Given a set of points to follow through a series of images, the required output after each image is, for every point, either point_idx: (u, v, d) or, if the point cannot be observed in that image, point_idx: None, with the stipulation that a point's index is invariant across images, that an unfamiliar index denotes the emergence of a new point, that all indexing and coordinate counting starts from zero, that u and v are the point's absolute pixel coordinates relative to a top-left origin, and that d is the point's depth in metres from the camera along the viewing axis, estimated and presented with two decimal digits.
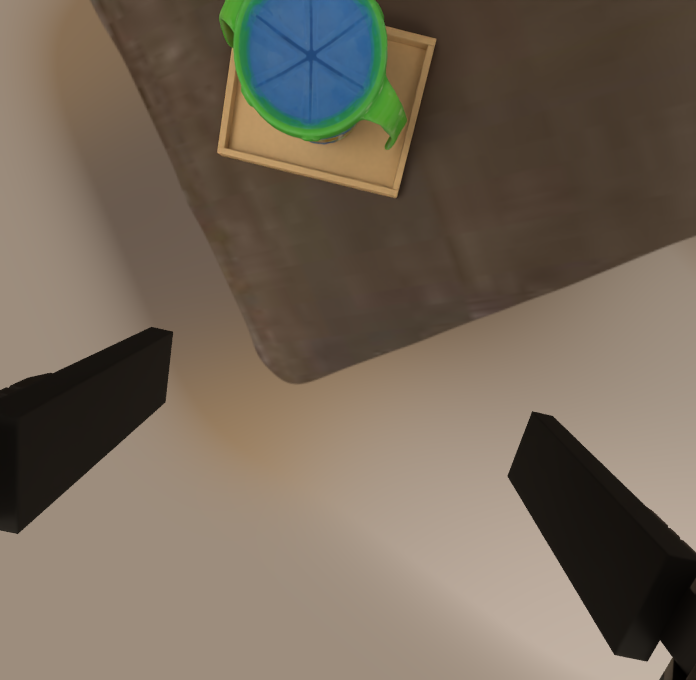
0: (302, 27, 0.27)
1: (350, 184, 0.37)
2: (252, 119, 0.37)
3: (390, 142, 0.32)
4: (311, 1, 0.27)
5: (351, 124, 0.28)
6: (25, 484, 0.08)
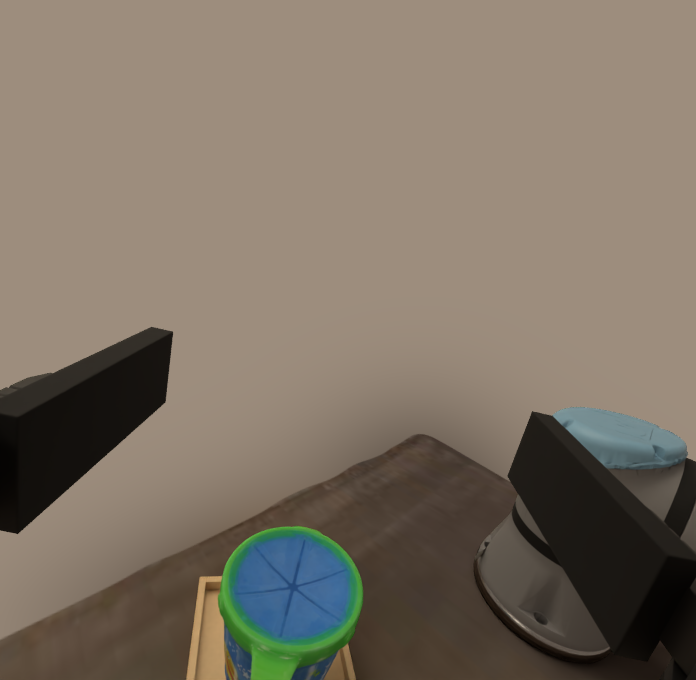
0: (310, 575, 0.31)
1: None
2: None
3: None
4: (331, 576, 0.31)
5: (242, 637, 0.25)
6: (25, 484, 0.08)
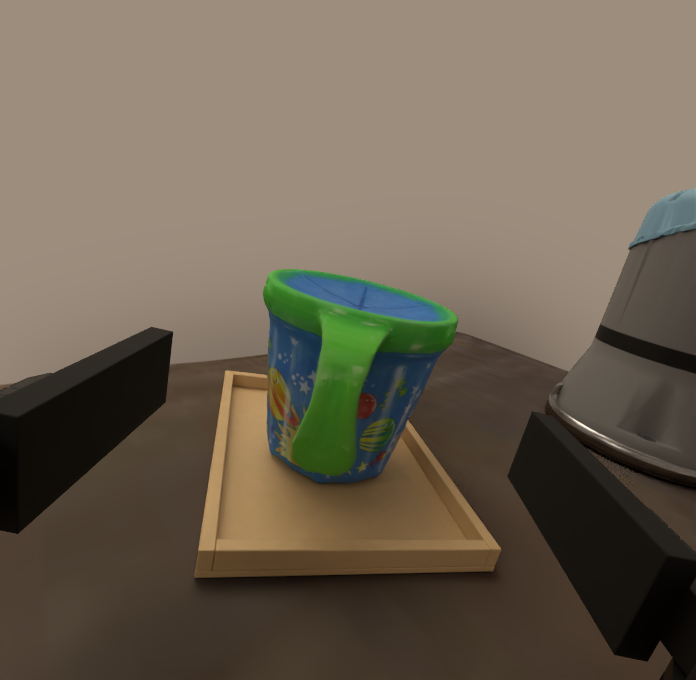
0: (381, 305, 0.23)
1: (211, 474, 0.19)
2: None
3: None
4: (407, 308, 0.23)
5: (305, 306, 0.18)
6: (25, 484, 0.08)
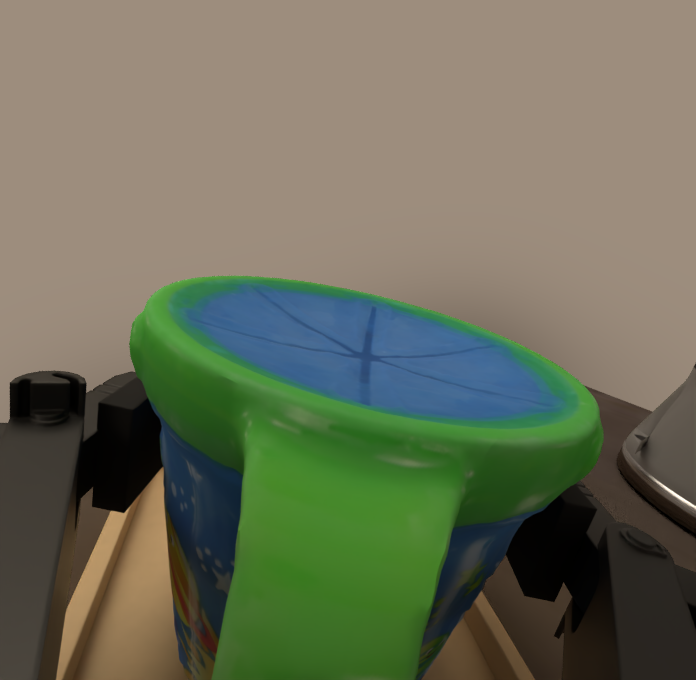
0: (406, 348, 0.12)
1: None
2: None
3: None
4: (459, 353, 0.12)
5: (206, 394, 0.06)
6: (131, 469, 0.09)
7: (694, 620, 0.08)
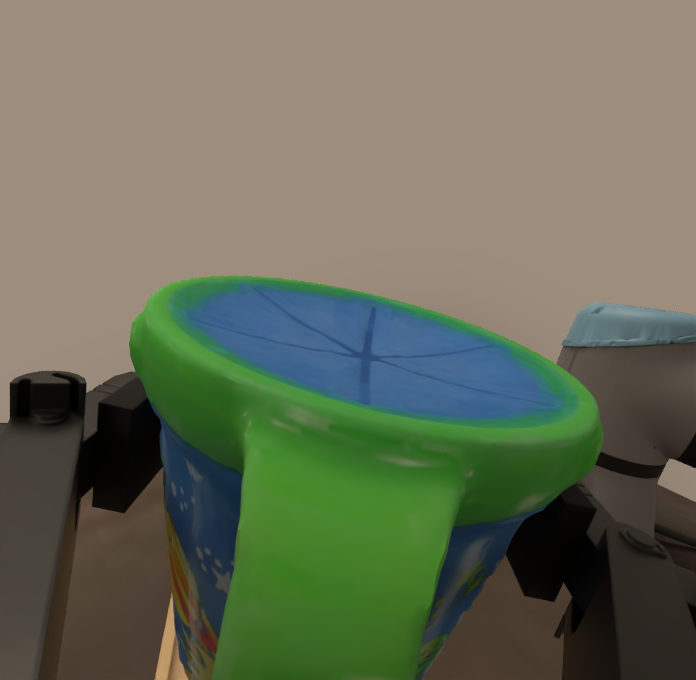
0: (406, 348, 0.12)
1: (170, 608, 0.23)
2: None
3: None
4: (459, 353, 0.12)
5: (205, 394, 0.06)
6: (132, 469, 0.09)
7: (694, 620, 0.08)
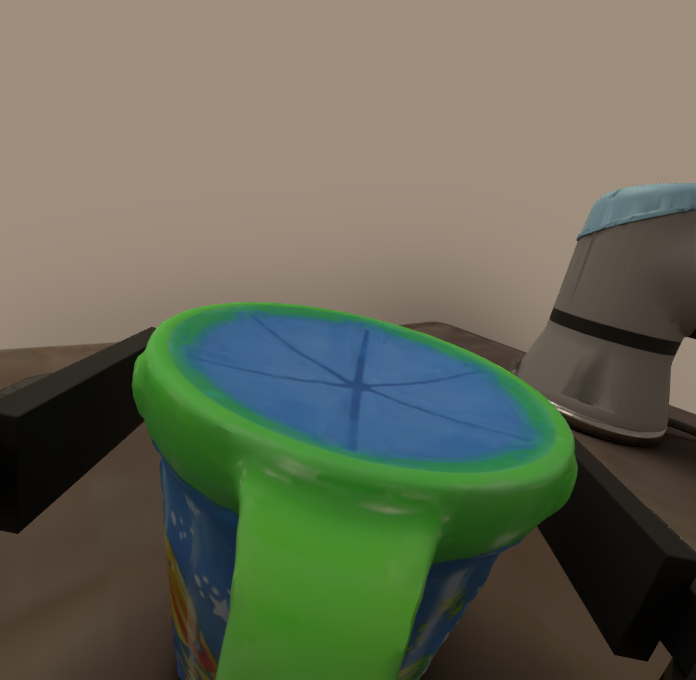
0: (397, 375, 0.12)
1: None
2: None
3: None
4: (447, 379, 0.12)
5: (204, 441, 0.06)
6: (25, 484, 0.08)
7: None
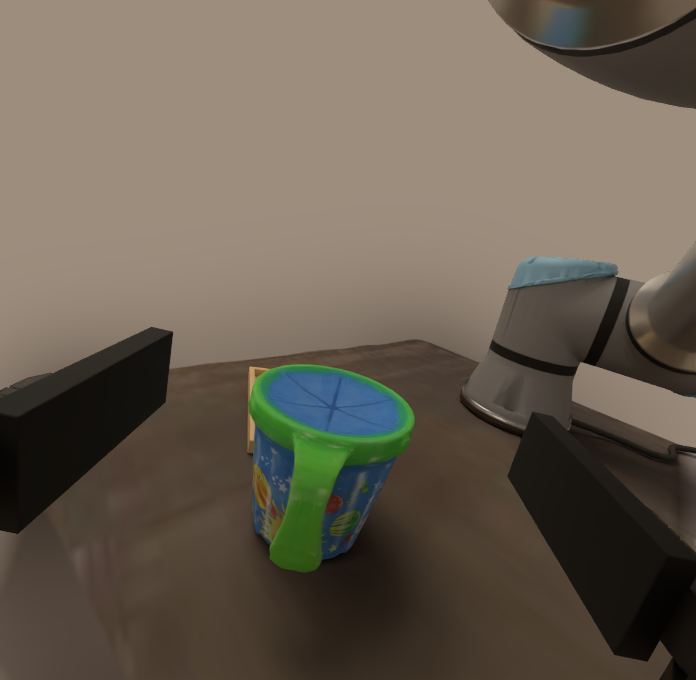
0: (351, 401, 0.27)
1: (250, 415, 0.39)
2: None
3: (280, 528, 0.20)
4: (374, 404, 0.27)
5: (282, 428, 0.21)
6: (25, 484, 0.08)
7: None
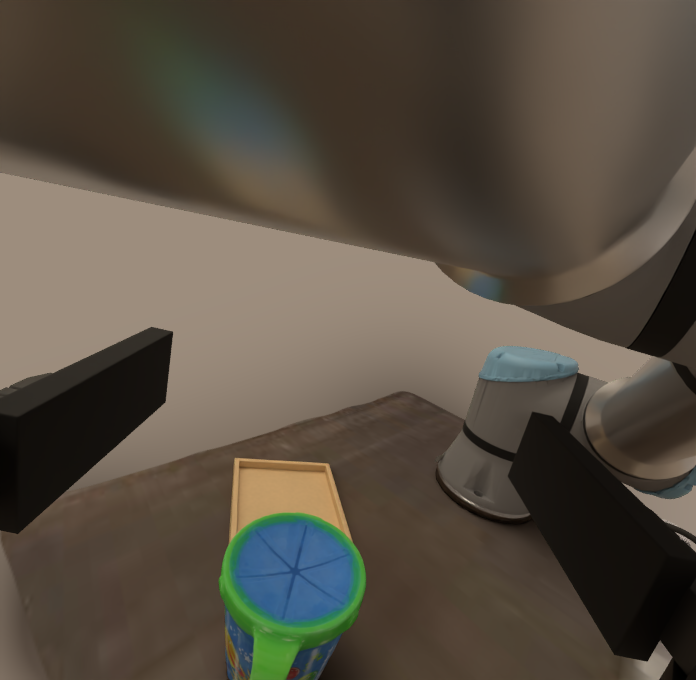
0: (313, 559, 0.31)
1: (231, 528, 0.43)
2: (261, 476, 0.53)
3: None
4: (333, 561, 0.31)
5: (244, 619, 0.25)
6: (25, 484, 0.08)
7: None
